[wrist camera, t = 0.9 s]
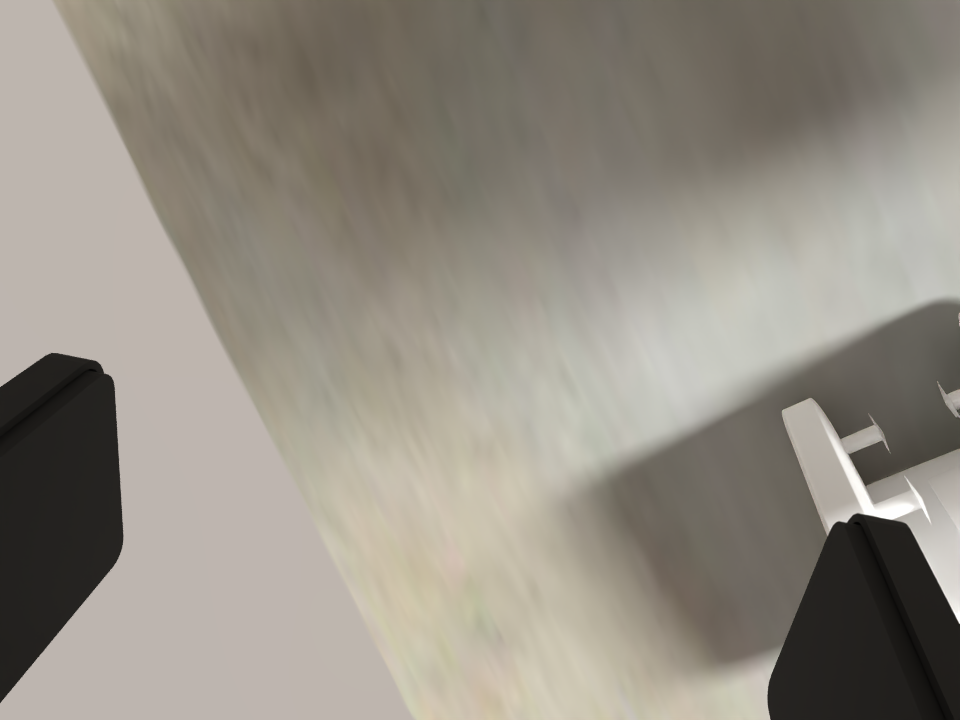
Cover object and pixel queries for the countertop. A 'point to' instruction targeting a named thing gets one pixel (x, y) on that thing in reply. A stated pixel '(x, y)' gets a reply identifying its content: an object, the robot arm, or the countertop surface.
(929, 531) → the cable organizer
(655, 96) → the countertop surface
